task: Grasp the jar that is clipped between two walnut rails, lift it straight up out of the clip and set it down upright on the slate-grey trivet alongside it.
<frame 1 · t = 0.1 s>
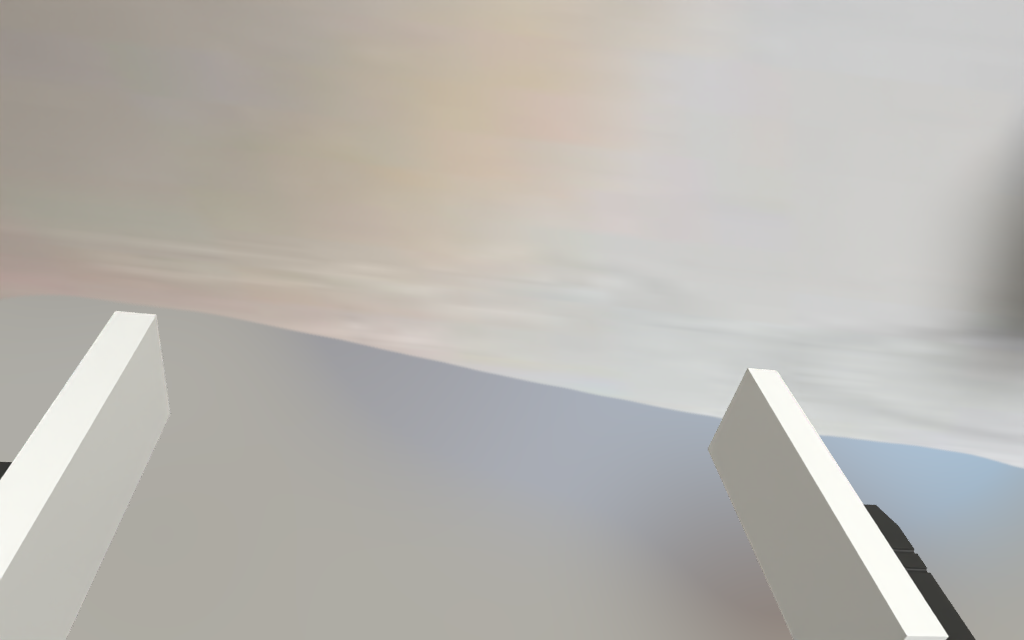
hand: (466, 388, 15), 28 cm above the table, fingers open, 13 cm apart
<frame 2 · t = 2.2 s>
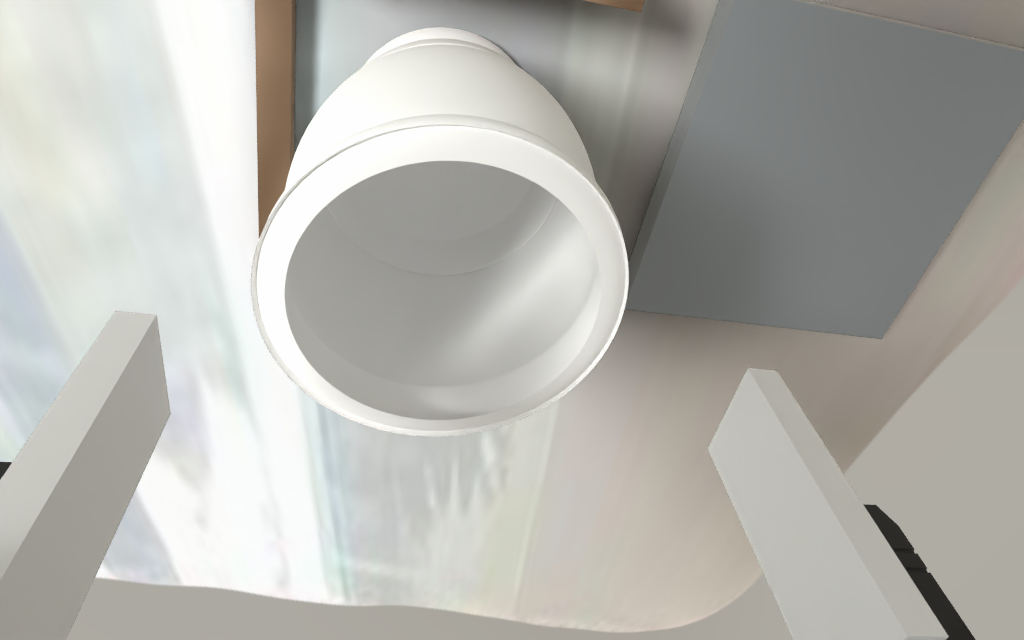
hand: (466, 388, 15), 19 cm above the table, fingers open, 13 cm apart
jar: (441, 120, 31), on the table
clip rails: (441, 122, 31), on the table
trivet: (809, 182, 34), on the table
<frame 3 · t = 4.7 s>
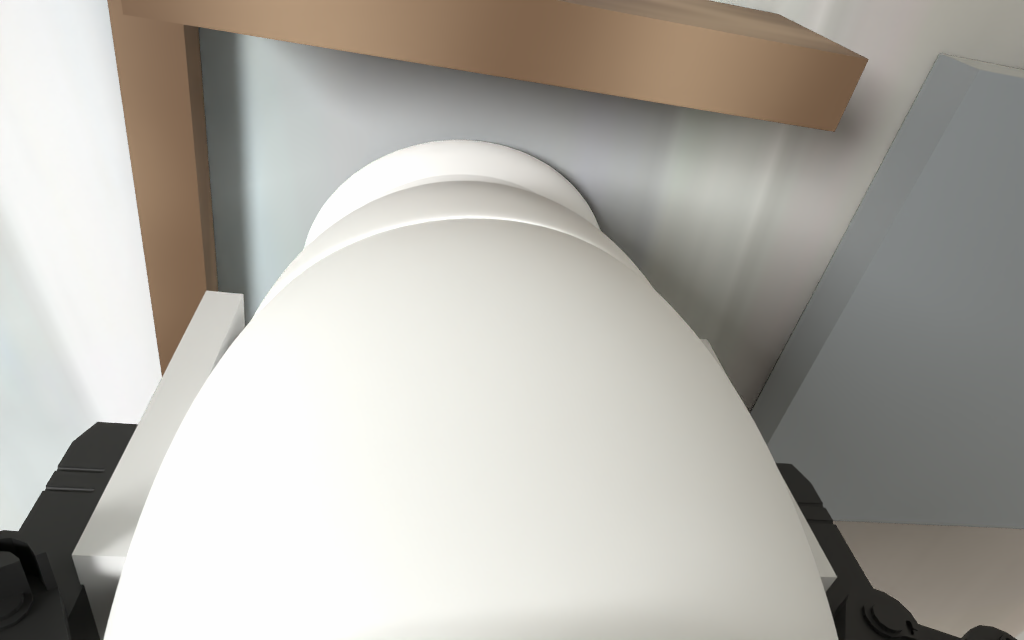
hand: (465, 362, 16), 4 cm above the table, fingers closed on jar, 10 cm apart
jar: (455, 273, 19), on the table, touching gripper
clip rails: (456, 277, 19), on the table
trivet: (1014, 336, 23), on the table
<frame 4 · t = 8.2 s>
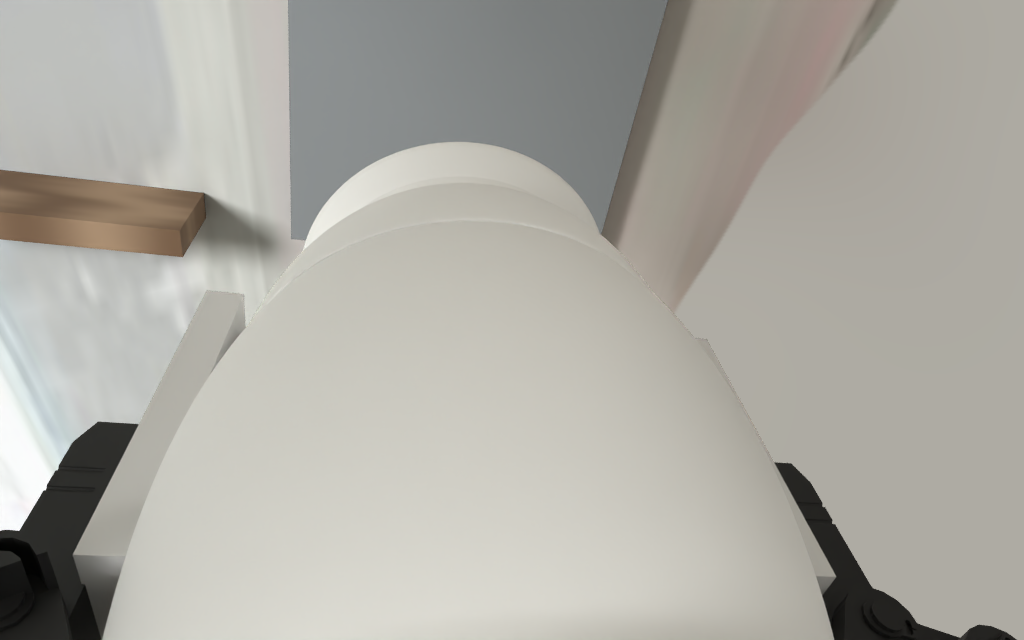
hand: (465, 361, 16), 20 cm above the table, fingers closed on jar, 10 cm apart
jar: (455, 275, 19), point 16 cm above the table, touching gripper
clip rails: (30, 32, 29), on the table
trivet: (466, 96, 32), on the table
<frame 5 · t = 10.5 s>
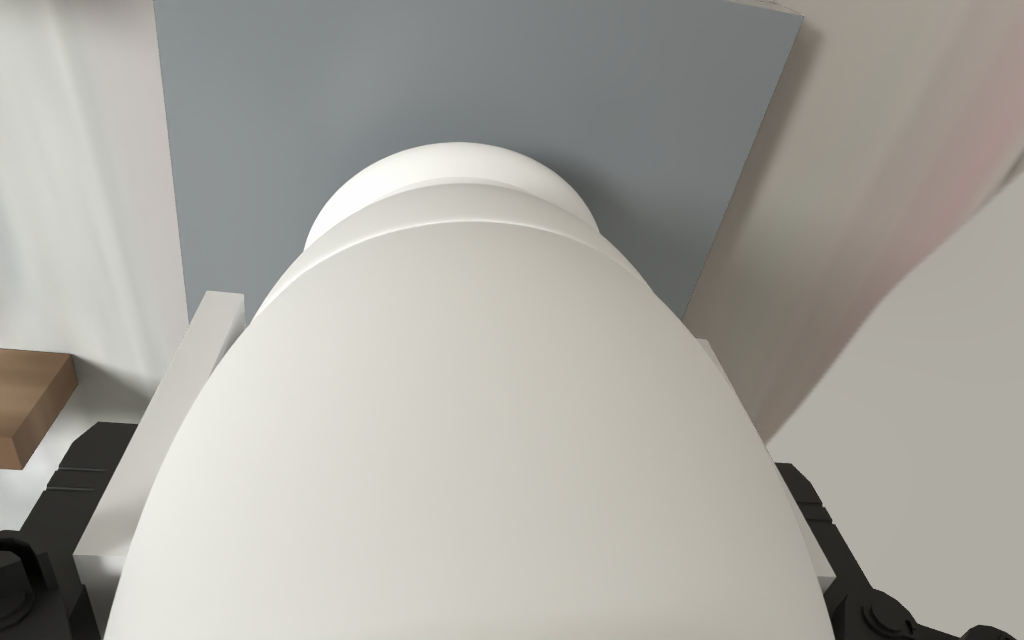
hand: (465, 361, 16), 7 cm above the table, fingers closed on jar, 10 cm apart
jar: (455, 275, 19), point 3 cm above the table, touching gripper
trivet: (455, 224, 22), on the table
when the fingers open (5 cm above the table, at t = 12.0 s): jar stays where it is, resting on trivet.
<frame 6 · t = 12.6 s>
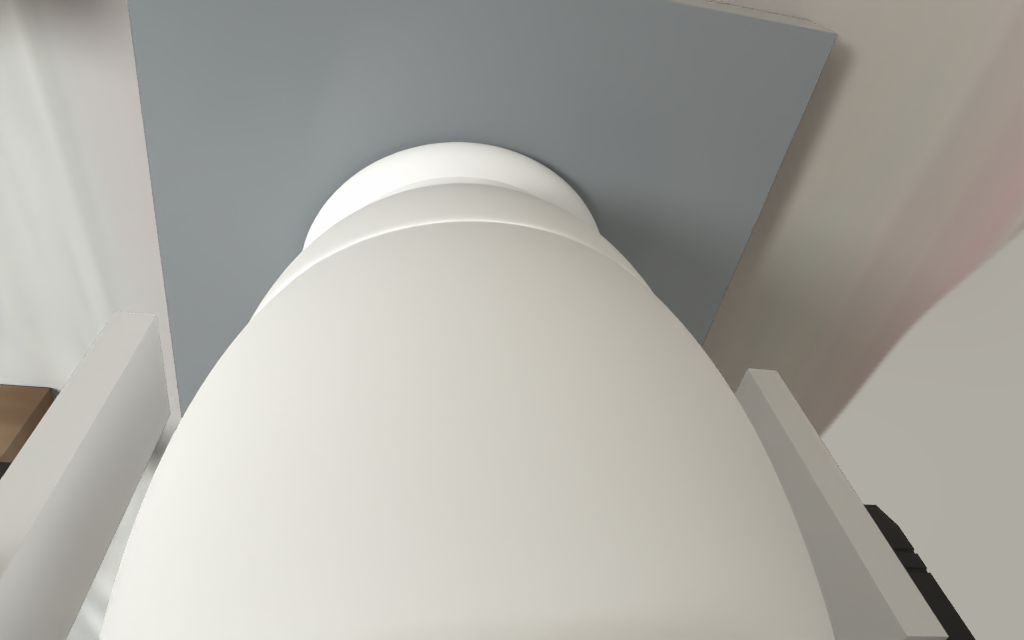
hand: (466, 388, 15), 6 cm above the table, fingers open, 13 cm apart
jar: (454, 275, 19), point 1 cm above the table, touching trivet
trivet: (459, 252, 20), on the table
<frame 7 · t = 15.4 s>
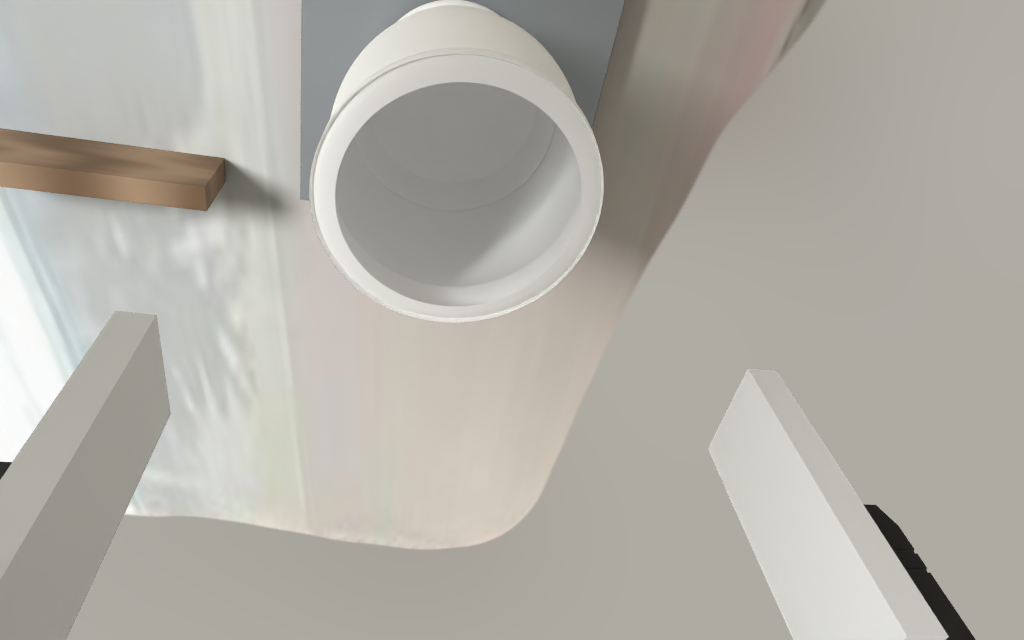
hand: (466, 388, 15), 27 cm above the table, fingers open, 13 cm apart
jar: (452, 82, 36), point 1 cm above the table, touching trivet
clip rails: (80, 13, 34), on the table
trivet: (454, 75, 37), on the table
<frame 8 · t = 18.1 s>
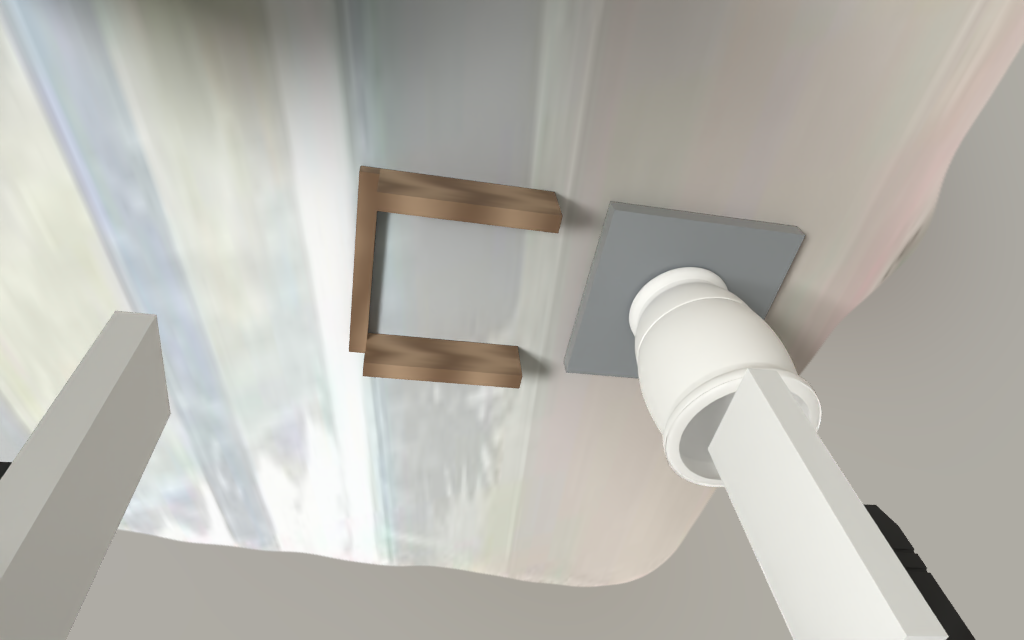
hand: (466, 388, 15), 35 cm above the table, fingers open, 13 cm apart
jar: (676, 306, 56), point 1 cm above the table, touching trivet
clip rails: (454, 273, 54), on the table
trivet: (674, 297, 57), on the table
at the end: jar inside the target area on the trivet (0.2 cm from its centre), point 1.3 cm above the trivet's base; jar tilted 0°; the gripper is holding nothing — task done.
